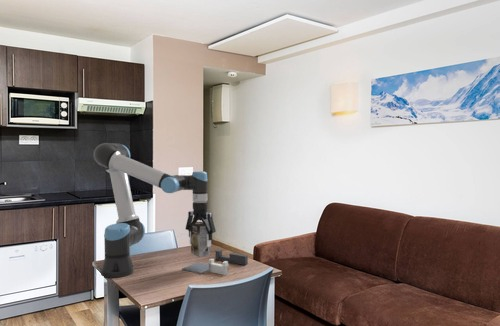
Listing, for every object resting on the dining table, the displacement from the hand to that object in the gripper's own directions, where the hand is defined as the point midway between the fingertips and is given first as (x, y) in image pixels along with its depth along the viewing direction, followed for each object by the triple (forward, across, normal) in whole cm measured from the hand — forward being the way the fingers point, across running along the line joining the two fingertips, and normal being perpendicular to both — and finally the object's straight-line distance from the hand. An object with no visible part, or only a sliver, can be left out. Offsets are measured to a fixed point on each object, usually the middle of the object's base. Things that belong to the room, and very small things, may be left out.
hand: (200, 245), depth 191 cm
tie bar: (+12, +7, +17) cm, 22 cm away
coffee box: (+5, 0, 0) cm, 5 cm away
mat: (+12, 0, 0) cm, 12 cm away
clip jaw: (+12, +12, -1) cm, 17 cm away
